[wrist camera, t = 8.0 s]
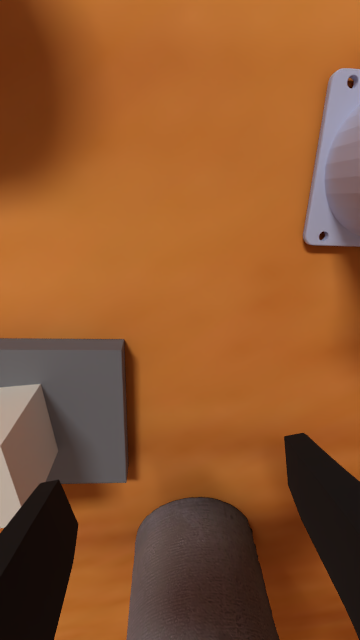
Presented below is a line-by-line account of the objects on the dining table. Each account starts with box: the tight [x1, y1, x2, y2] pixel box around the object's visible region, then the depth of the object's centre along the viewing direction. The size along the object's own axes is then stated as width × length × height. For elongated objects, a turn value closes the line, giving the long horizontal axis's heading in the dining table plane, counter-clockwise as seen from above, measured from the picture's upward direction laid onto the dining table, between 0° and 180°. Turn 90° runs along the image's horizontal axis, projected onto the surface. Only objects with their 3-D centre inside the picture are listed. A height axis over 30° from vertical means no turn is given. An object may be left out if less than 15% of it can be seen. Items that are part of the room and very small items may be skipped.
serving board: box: [0, 339, 128, 484], centre depth 20 cm, size 14×10×2 cm
